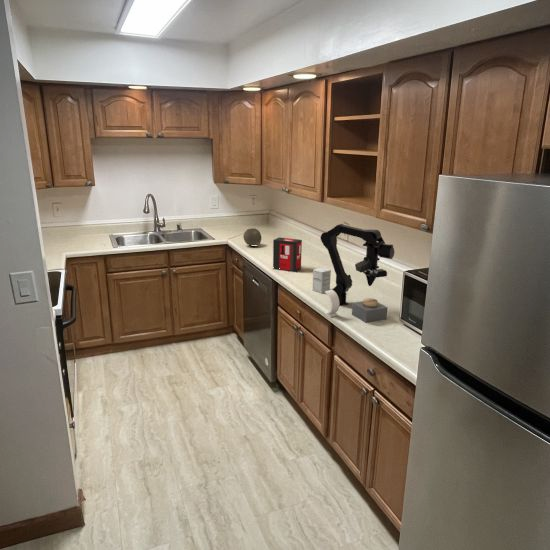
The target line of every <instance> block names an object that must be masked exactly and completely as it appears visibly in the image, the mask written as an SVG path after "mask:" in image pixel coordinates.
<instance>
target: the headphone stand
mask: <svg viewBox="0 0 550 550" xmlns="http://www.w3.org/2000/svg"><path fill="white" fill-rule="evenodd" d="M324 294H326V295H327V296H328V298H329V301H330V303H331V304H330V310H329V311H324V312H323V315H325V316H327V317H329V318H334V317H337V316H338V313H337V312H338V311H339V309H340V305H339V298H338V296H337V294H336V292H335V291H333V290H332V289H330V290H329V291H325V292H324Z"/></svg>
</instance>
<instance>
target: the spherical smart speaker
mask: <svg viewBox="0 0 550 550" xmlns="http://www.w3.org/2000/svg"><path fill="white" fill-rule="evenodd" d="M242 238H243V240H244V243H245V244H247V245H248V244H249V245H258V246H260V245H261V242H262V234H261V232H260V231H259V229H257V228H255V227H254V228H253V227H251V228H248V229H246V230H245V231H244V233H243V237H242ZM249 245H248V246H249Z"/></svg>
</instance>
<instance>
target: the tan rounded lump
mask: <svg viewBox="0 0 550 550" xmlns="http://www.w3.org/2000/svg"><path fill="white" fill-rule="evenodd" d="M362 301H363V305H364V306H366V307H376V306H377V302H378V299H375V298H370V297H366V298H363V299H362ZM378 303H379V302H378Z"/></svg>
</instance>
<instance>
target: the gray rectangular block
mask: <svg viewBox="0 0 550 550" xmlns="http://www.w3.org/2000/svg"><path fill="white" fill-rule="evenodd" d="M351 315H352V316H354V317H355V318H357V319H358V320H360V321H362V322H363V323H365V324H369V323H374V322H380V321H386V320H388V319H387V317H388V306H386V305H385V304H383V303H380V302H377V306H376V307H366V306H364V305H363V300H361V301H356V302H355V301H354V302H352V306H351Z"/></svg>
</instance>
